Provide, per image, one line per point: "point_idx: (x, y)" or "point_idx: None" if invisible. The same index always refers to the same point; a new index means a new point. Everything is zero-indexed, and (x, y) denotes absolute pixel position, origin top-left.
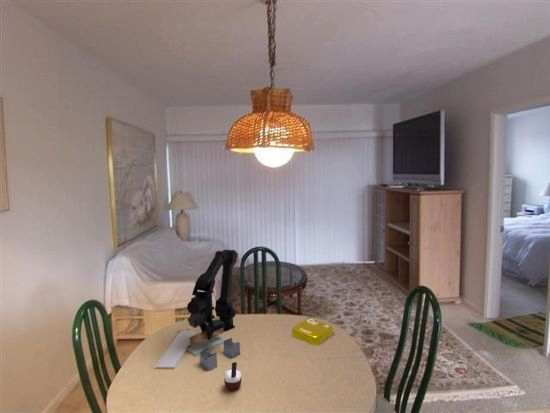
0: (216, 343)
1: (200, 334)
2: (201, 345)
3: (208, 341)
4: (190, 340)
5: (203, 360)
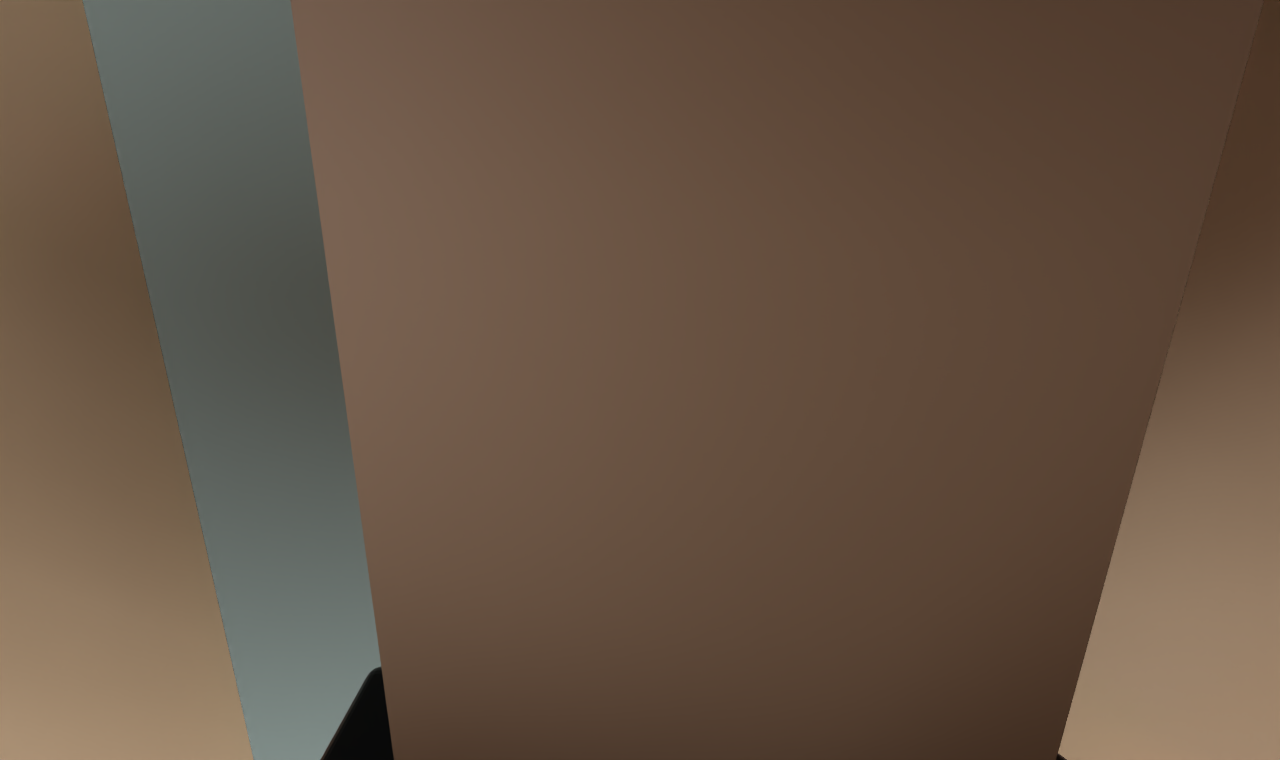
0: None
1: (810, 629)
2: None
3: None
4: None
5: None
